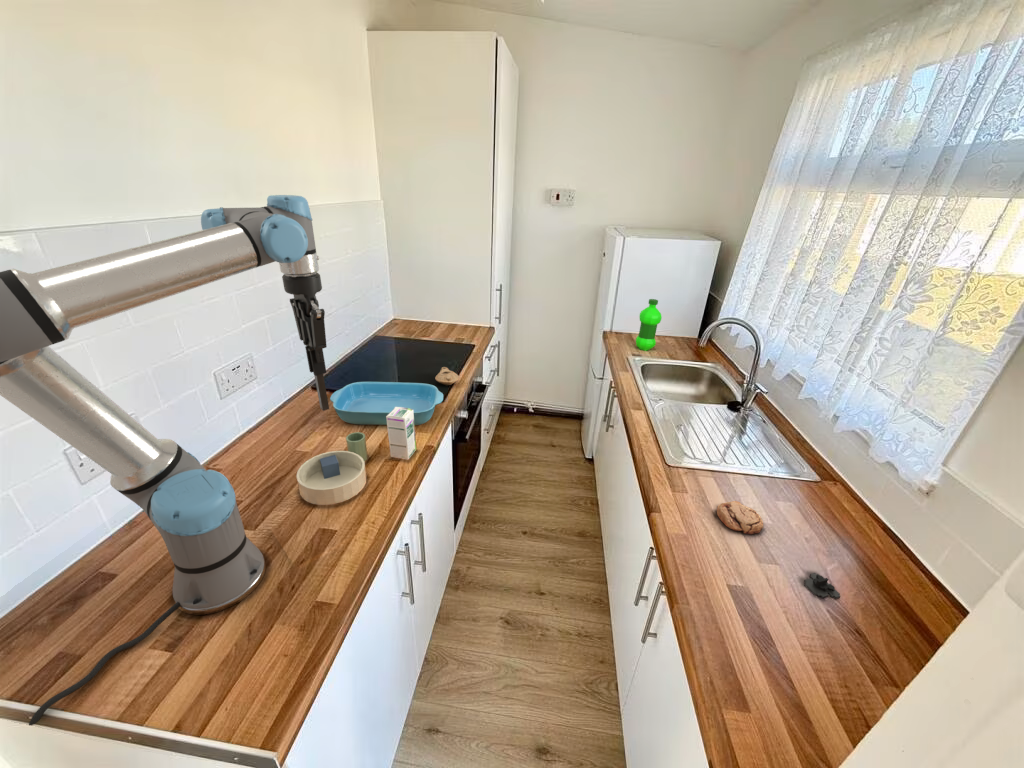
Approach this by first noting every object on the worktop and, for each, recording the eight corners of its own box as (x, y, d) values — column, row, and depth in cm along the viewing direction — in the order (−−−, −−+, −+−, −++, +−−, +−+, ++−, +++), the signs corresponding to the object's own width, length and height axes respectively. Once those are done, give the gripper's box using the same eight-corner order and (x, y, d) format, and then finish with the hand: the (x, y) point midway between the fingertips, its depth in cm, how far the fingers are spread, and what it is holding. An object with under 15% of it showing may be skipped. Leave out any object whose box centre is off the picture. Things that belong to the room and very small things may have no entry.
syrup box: (408, 462, 123) (405, 418, 117) (389, 458, 124) (385, 415, 118) (416, 451, 129) (414, 408, 122) (398, 447, 130) (394, 405, 123)
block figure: (801, 570, 92) (820, 565, 94) (797, 578, 93) (816, 573, 95) (826, 594, 87) (847, 588, 88) (822, 602, 88) (842, 596, 89)
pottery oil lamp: (454, 373, 179) (460, 361, 174) (454, 394, 170) (460, 382, 166) (433, 367, 175) (439, 355, 171) (432, 388, 167) (439, 376, 163)
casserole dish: (445, 399, 159) (445, 381, 156) (441, 431, 139) (440, 412, 136) (343, 397, 156) (341, 380, 153) (323, 430, 136) (320, 410, 133)
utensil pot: (354, 468, 120) (351, 444, 116) (346, 460, 123) (342, 436, 119) (371, 461, 123) (368, 437, 120) (362, 453, 126) (359, 430, 123)
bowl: (316, 517, 102) (313, 499, 100) (290, 484, 112) (286, 467, 110) (378, 487, 113) (376, 470, 111) (348, 459, 123) (346, 443, 121)
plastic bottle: (630, 345, 222) (639, 297, 211) (650, 345, 223) (659, 297, 212) (637, 352, 213) (647, 302, 202) (658, 352, 214) (668, 303, 203)
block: (324, 479, 114) (322, 466, 112) (321, 470, 117) (319, 458, 115) (340, 474, 116) (338, 462, 114) (337, 466, 119) (335, 454, 117)
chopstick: (323, 411, 107) (310, 343, 99) (320, 408, 108) (308, 341, 100) (329, 409, 108) (317, 341, 100) (326, 406, 109) (315, 340, 101)
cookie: (764, 540, 103) (768, 530, 101) (717, 527, 106) (720, 517, 105) (758, 513, 111) (762, 504, 110) (714, 501, 114) (717, 493, 113)
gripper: (333, 277, 91) (347, 377, 101) (304, 265, 100) (320, 359, 110) (296, 282, 86) (315, 387, 96) (270, 269, 95) (290, 366, 105)
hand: (318, 372), depth 103 cm, fingers closed on chopstick, 2 cm apart
